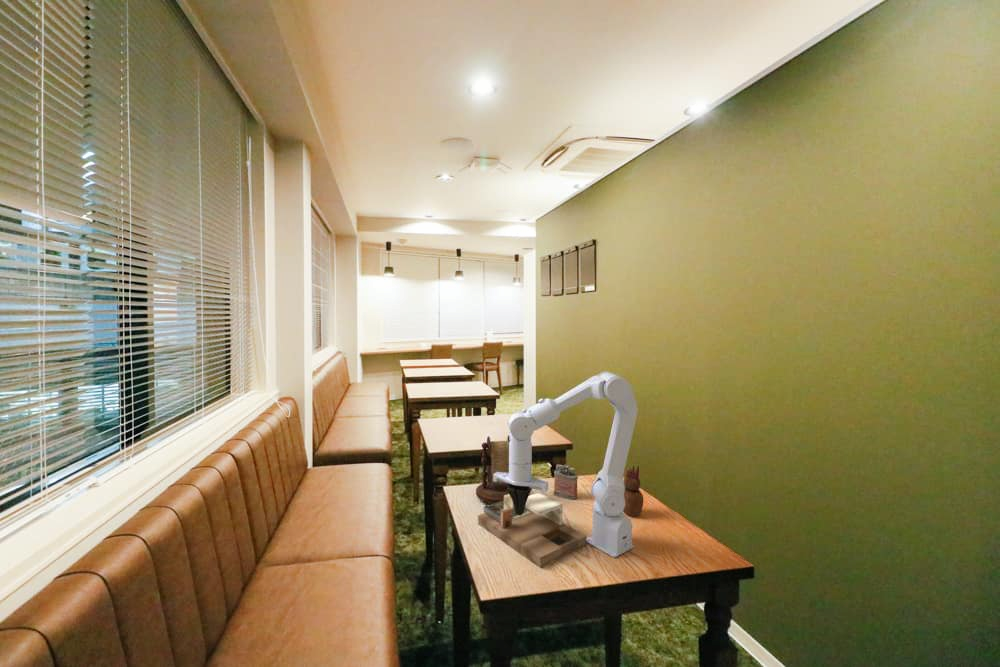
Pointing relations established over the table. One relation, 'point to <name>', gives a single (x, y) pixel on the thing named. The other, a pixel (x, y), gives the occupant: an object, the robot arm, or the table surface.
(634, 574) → the table surface
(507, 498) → the block
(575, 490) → the lighter
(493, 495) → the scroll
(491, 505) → the carriage
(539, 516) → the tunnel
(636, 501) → the wooden figurine
